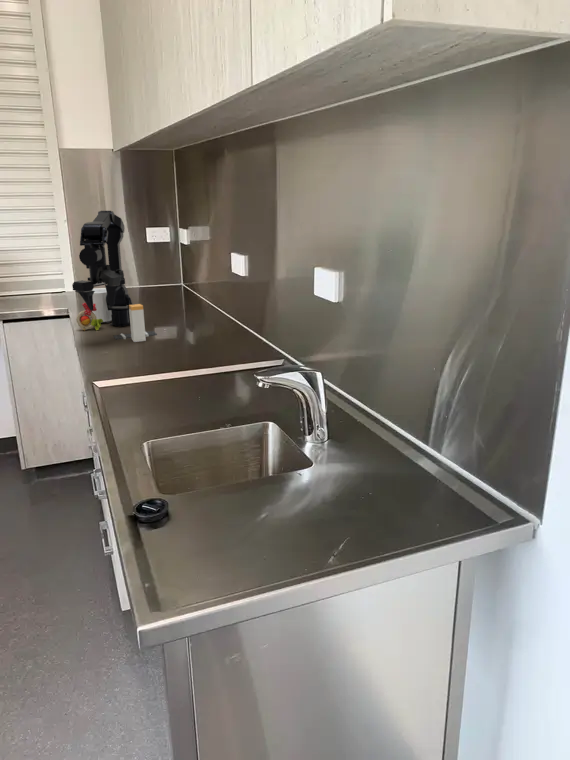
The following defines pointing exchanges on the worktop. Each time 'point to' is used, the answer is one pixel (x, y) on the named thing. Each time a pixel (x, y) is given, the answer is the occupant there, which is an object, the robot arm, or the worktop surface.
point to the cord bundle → (125, 336)
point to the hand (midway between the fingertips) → (102, 308)
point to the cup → (101, 305)
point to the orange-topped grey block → (137, 322)
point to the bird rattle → (85, 319)
